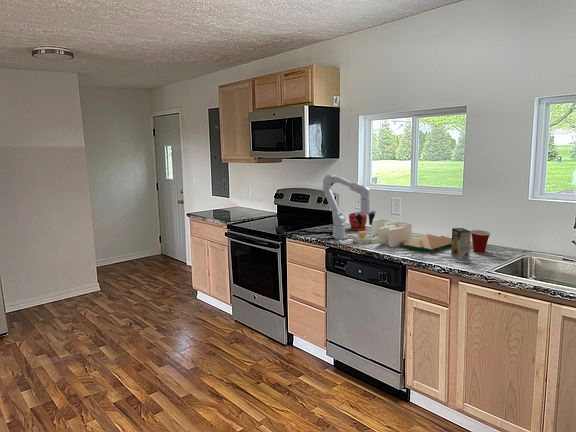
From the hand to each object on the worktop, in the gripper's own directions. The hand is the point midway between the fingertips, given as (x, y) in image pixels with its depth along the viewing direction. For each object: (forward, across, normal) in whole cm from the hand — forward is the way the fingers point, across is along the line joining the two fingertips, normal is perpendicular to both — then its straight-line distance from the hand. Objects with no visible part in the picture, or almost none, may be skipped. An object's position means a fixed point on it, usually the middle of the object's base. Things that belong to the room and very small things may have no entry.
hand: (365, 225), depth 281 cm
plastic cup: (+11, +44, -56) cm, 72 cm away
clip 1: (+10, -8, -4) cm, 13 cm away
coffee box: (+11, +25, -62) cm, 68 cm away
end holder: (+10, +2, -7) cm, 12 cm away
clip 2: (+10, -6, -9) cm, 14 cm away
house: (+11, +25, -33) cm, 43 cm away
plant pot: (+10, +11, +32) cm, 35 cm away
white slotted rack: (+10, +18, -2) cm, 21 cm away
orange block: (+10, -1, +2) cm, 10 cm away
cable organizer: (+10, +7, -21) cm, 24 cm away
